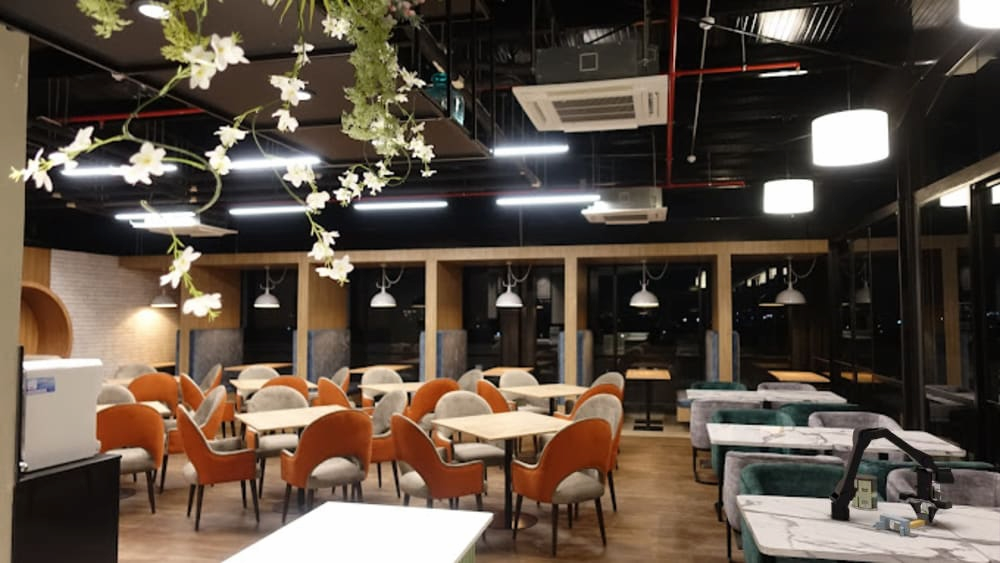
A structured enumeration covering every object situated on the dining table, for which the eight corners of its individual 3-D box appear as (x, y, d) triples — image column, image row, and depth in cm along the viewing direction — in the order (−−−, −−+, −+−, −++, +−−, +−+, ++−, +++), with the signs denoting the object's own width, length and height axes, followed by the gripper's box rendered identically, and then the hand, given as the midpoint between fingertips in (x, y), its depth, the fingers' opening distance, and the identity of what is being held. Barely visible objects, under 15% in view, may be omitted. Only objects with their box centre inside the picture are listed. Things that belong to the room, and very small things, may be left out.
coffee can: (869, 504, 304) (869, 473, 305) (882, 510, 294) (881, 478, 295) (847, 504, 304) (846, 473, 305) (859, 510, 294) (858, 478, 295)
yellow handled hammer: (902, 532, 263) (902, 521, 264) (892, 529, 267) (892, 519, 267) (932, 524, 274) (932, 514, 274) (922, 522, 278) (922, 512, 278)
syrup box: (941, 514, 290) (940, 480, 291) (927, 513, 291) (926, 479, 292) (936, 510, 296) (935, 477, 296) (921, 509, 297) (920, 477, 298)
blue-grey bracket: (909, 538, 255) (908, 524, 255) (868, 527, 269) (868, 513, 269) (918, 536, 258) (917, 522, 258) (877, 525, 272) (877, 511, 272)
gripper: (958, 486, 272) (960, 524, 271) (912, 476, 288) (913, 513, 287) (944, 489, 267) (945, 528, 265) (897, 479, 283) (898, 516, 282)
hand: (925, 521), depth 275 cm, fingers closed on yellow handled hammer, 4 cm apart
